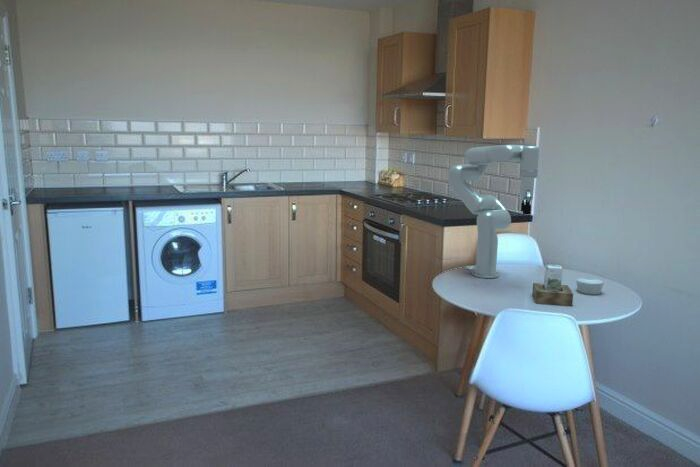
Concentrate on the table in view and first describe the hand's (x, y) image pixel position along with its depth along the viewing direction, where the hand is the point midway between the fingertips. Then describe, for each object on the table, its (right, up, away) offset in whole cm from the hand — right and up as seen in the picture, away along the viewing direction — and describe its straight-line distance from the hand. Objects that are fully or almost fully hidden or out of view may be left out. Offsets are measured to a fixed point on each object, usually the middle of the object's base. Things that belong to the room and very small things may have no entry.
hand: (525, 212), depth 260 cm
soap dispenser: (+6, -37, -17) cm, 41 cm away
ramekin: (+27, -35, -3) cm, 45 cm away
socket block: (+6, -37, -17) cm, 41 cm away
